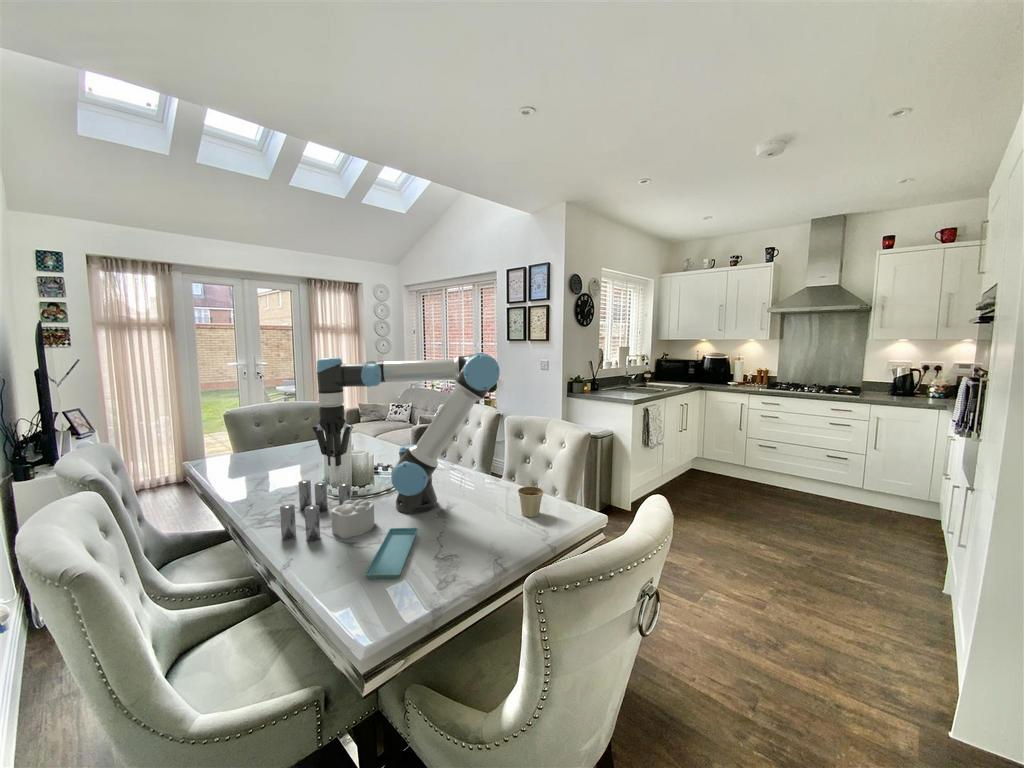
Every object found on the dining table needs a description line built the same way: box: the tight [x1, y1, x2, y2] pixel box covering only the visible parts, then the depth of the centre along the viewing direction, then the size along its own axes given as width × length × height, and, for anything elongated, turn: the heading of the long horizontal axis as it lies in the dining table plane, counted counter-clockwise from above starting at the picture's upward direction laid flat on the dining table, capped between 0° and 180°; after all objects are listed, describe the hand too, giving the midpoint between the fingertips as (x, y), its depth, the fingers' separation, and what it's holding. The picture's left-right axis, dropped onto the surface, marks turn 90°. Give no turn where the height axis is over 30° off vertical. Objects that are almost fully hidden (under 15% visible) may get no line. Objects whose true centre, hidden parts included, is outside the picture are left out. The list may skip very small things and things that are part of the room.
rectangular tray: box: [364, 527, 419, 580], centre depth 120 cm, size 26×9×2 cm, turn 2°
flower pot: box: [517, 485, 545, 518], centre depth 148 cm, size 9×9×9 cm
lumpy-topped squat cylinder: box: [330, 498, 375, 539], centre depth 136 cm, size 10×13×9 cm
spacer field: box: [279, 479, 352, 542], centre depth 141 cm, size 20×26×10 cm
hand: (335, 475), depth 138 cm, fingers closed
